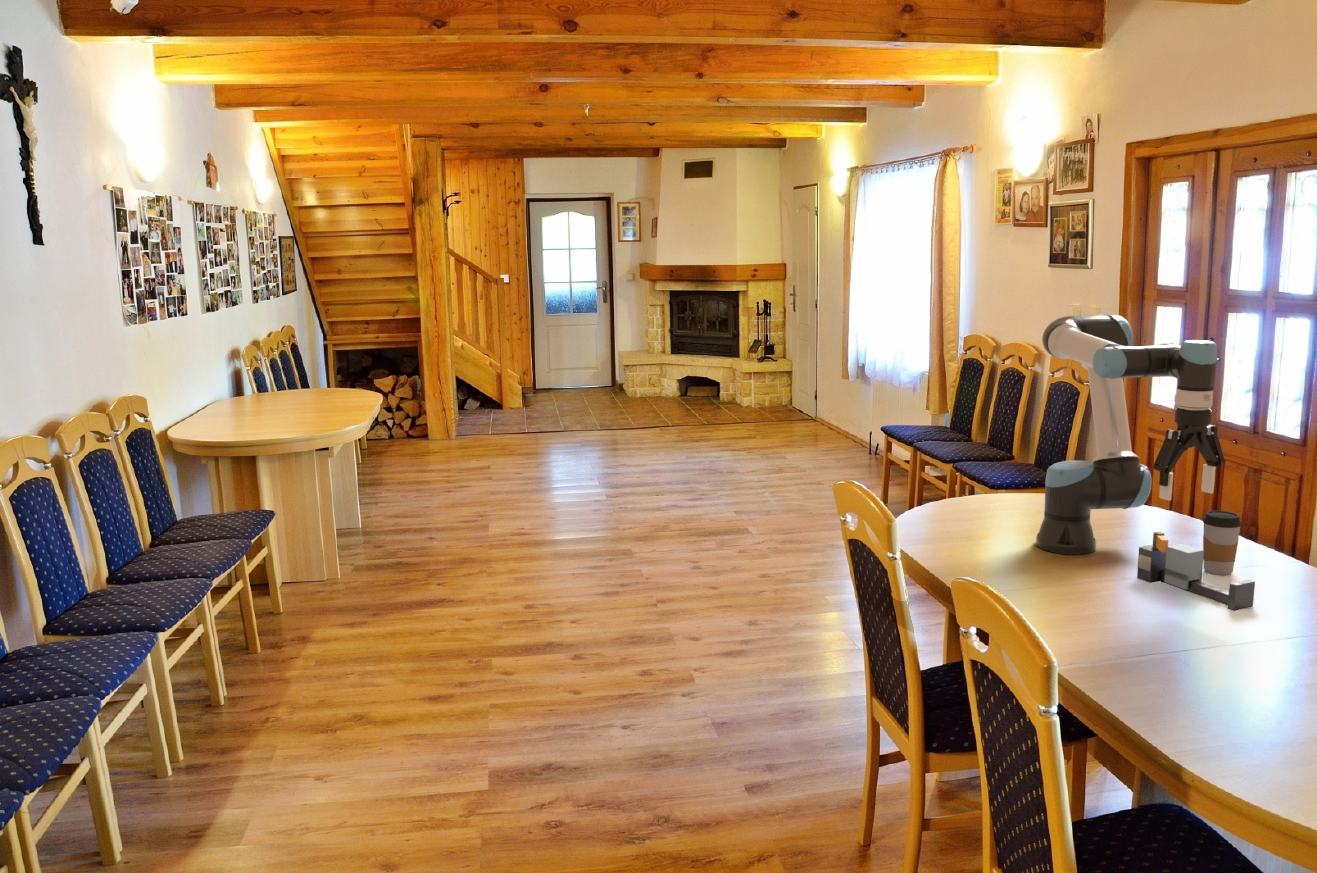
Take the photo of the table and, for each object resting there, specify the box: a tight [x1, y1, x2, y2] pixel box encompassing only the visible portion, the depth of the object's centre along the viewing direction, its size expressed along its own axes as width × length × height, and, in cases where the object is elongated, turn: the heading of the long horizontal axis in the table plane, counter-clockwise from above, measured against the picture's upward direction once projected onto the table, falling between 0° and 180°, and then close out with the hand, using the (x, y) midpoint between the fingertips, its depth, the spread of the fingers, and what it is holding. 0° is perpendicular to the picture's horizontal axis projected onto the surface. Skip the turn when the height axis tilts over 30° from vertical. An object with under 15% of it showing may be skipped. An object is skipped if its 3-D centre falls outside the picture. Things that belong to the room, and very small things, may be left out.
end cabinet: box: [1136, 543, 1172, 584], centre depth 242 cm, size 4×8×8 cm, turn 112°
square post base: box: [1227, 578, 1256, 612], centre depth 221 cm, size 2×6×6 cm, turn 112°
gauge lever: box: [1152, 531, 1169, 552], centre depth 239 cm, size 2×6×3 cm, turn 169°
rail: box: [1160, 572, 1229, 606], centre depth 231 cm, size 19×2×2 cm, turn 22°
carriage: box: [1164, 543, 1204, 591], centre depth 235 cm, size 6×5×9 cm
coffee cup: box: [1202, 510, 1242, 577], centre depth 244 cm, size 8×8×15 cm
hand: (1186, 495), depth 233 cm, fingers open, 13 cm apart
